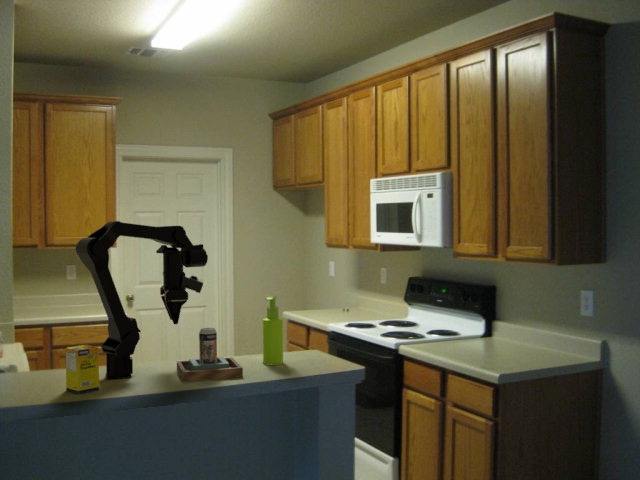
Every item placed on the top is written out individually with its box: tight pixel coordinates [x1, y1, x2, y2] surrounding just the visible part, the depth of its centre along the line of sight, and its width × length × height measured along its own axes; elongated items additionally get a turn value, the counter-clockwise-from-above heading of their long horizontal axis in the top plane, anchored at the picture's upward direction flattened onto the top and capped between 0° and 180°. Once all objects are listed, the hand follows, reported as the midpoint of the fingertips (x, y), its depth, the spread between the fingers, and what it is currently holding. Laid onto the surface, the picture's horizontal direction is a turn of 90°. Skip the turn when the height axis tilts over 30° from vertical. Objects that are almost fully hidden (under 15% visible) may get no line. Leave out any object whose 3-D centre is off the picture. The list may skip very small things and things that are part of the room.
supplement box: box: [65, 344, 100, 395], centre depth 172 cm, size 6×6×11 cm
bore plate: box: [189, 356, 229, 371], centre depth 190 cm, size 10×10×3 cm
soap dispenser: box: [262, 295, 284, 366], centre depth 203 cm, size 6×7×20 cm
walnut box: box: [176, 356, 244, 383], centre depth 190 cm, size 16×15×2 cm
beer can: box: [198, 327, 218, 364], centre depth 190 cm, size 5×5×12 cm
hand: (173, 321), depth 200 cm, fingers open, 9 cm apart
